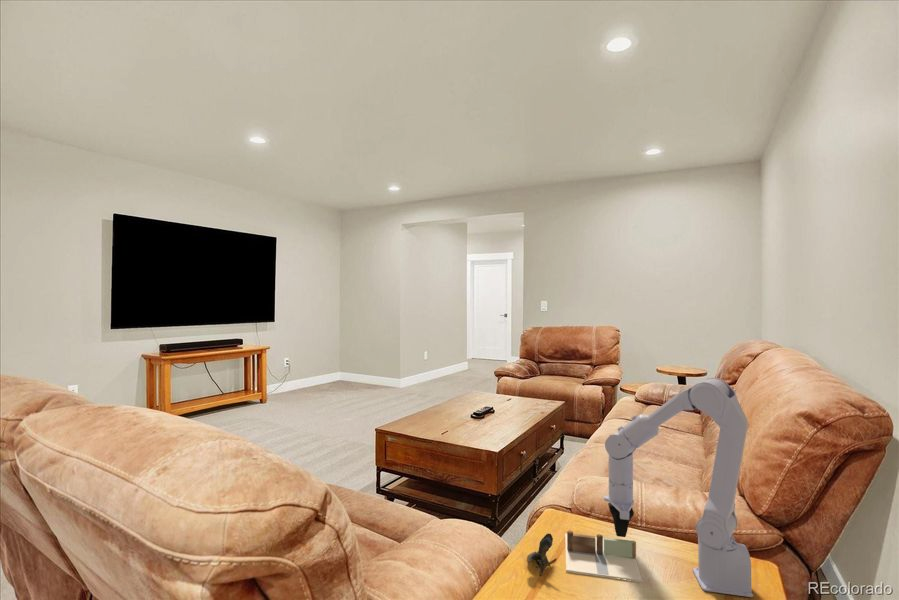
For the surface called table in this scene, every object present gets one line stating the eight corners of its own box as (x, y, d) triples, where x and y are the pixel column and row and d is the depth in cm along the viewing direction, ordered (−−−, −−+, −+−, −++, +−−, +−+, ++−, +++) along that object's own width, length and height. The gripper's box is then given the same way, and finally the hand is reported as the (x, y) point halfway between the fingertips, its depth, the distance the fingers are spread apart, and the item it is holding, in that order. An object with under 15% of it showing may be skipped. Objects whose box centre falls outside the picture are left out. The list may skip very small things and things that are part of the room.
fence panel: (604, 554, 107) (604, 539, 107) (603, 551, 108) (603, 537, 108) (636, 558, 105) (636, 543, 105) (635, 555, 106) (635, 540, 106)
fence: (602, 552, 108) (602, 534, 108) (603, 555, 107) (603, 537, 107) (567, 548, 110) (567, 530, 110) (567, 551, 109) (567, 533, 109)
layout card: (629, 543, 113) (629, 540, 113) (641, 582, 97) (641, 580, 97) (565, 535, 117) (565, 533, 117) (566, 572, 101) (566, 569, 101)
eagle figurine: (566, 573, 99) (559, 544, 108) (549, 548, 98) (544, 521, 107) (537, 588, 100) (532, 558, 109) (519, 563, 99) (517, 536, 108)
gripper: (601, 469, 119) (601, 519, 119) (606, 490, 105) (606, 548, 105) (629, 471, 118) (629, 523, 117) (638, 493, 104) (638, 552, 103)
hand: (620, 535), depth 111 cm, fingers closed
